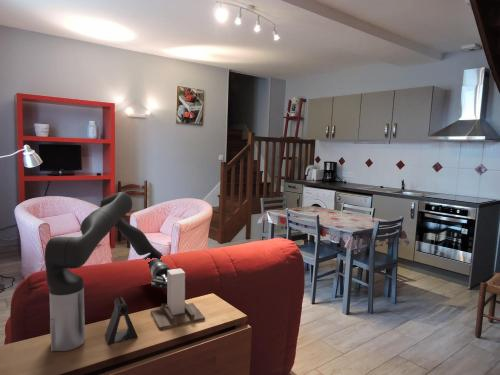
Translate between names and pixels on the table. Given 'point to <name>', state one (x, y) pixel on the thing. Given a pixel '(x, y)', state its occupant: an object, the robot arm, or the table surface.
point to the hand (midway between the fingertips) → (173, 288)
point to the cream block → (176, 291)
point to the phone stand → (111, 331)
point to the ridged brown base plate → (176, 316)
